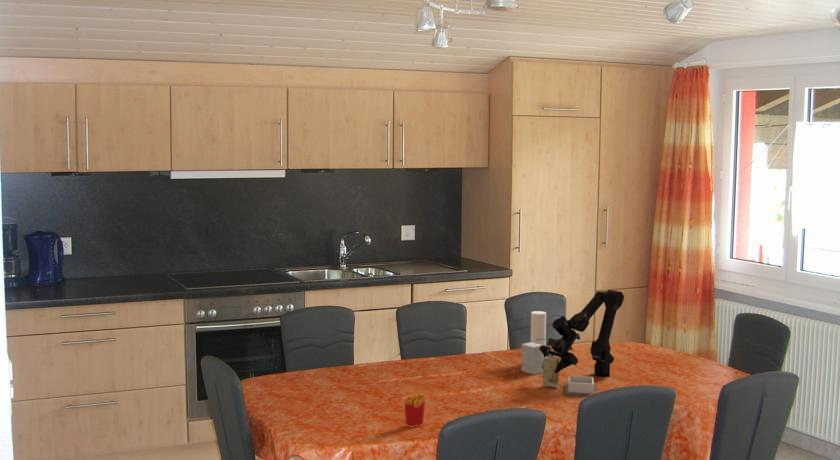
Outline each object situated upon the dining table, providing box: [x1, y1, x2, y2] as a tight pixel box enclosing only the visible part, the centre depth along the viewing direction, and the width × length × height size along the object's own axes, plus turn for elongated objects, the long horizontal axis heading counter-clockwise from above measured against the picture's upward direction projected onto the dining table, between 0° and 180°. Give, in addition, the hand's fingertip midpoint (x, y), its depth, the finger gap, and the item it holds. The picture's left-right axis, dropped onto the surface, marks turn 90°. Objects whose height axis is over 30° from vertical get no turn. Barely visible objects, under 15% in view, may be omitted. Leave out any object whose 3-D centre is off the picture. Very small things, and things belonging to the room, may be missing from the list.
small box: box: [520, 341, 543, 375], centre depth 380 cm, size 8×6×13 cm
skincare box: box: [542, 356, 561, 388], centre depth 357 cm, size 6×4×12 cm
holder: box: [564, 375, 597, 397], centre depth 352 cm, size 13×13×5 cm
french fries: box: [404, 392, 426, 426], centre depth 310 cm, size 8×4×12 cm, turn 125°
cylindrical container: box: [530, 310, 547, 358], centre depth 392 cm, size 7×7×25 cm
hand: (548, 370), depth 356 cm, fingers closed on skincare box, 7 cm apart
